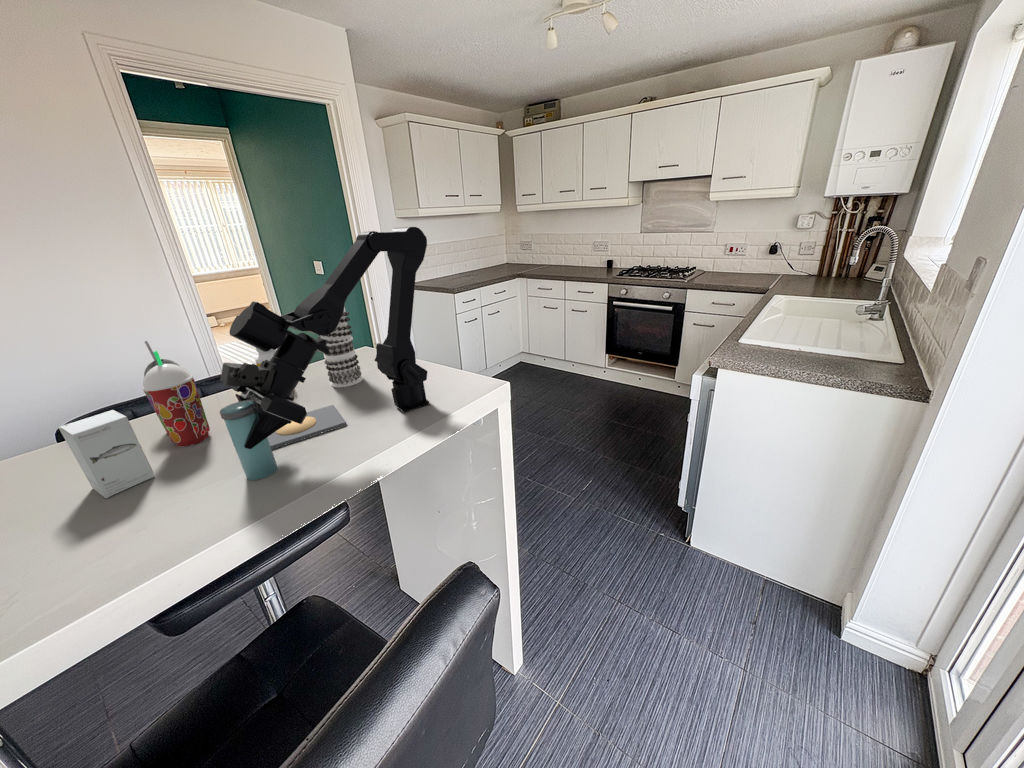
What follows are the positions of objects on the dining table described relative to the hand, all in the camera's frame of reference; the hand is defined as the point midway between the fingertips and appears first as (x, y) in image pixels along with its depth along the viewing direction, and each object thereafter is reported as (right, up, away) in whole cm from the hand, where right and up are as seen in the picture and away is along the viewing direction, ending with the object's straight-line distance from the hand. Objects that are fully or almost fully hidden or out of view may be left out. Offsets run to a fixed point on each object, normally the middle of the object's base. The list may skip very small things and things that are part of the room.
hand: (241, 443), depth 71 cm
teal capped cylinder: (+1, -6, +3) cm, 7 cm away
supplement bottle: (-17, +8, +42) cm, 46 cm away
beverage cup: (-31, +1, +27) cm, 41 cm away
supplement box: (-24, -8, +4) cm, 25 cm away
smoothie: (-22, -2, +17) cm, 28 cm away
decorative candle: (+1, +11, +44) cm, 45 cm away
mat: (0, 0, +18) cm, 18 cm away
